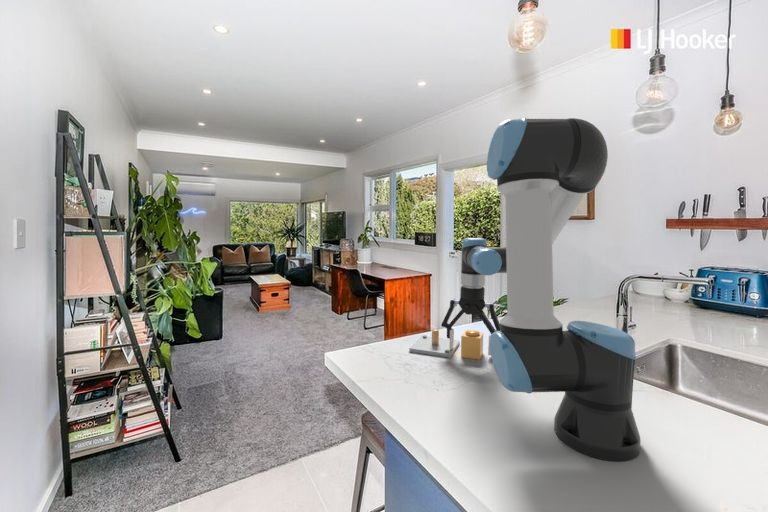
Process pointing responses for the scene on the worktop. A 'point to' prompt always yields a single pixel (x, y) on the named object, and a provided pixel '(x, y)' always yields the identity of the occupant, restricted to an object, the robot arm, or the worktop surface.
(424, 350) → the plate
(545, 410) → the worktop surface
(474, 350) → the single stud toy brick
